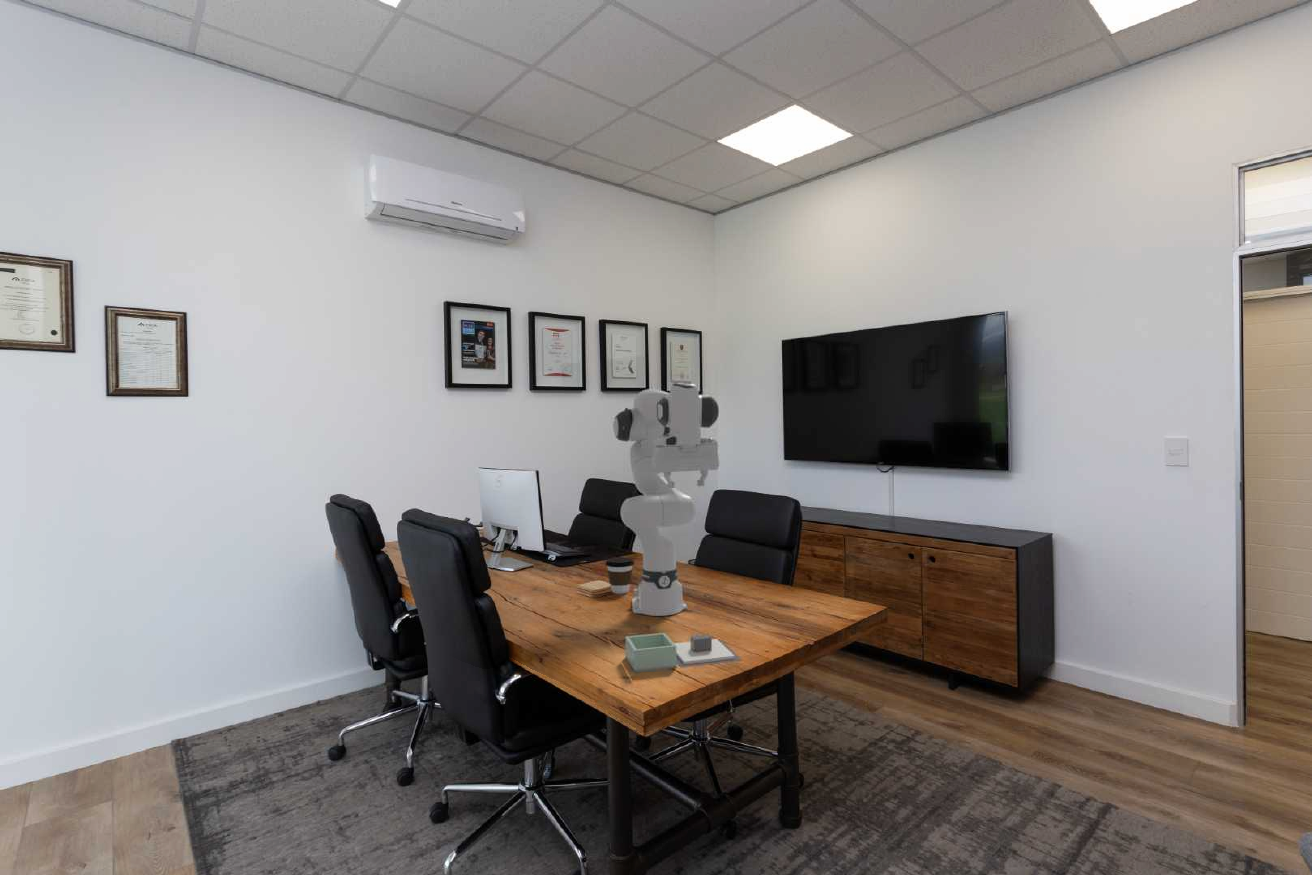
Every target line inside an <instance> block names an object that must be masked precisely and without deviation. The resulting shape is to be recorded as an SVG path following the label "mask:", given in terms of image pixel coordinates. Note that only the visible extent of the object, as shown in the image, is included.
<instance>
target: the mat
mask: <svg viewBox="0 0 1312 875" xmlns="http://www.w3.org/2000/svg"><path fill="white" fill-rule="evenodd" d="M717 640H718V641H719V642H720V643H722V644H723V645H724V646H725V647H726V648H727V649H728V650H729V651H730V652H731V653H732V654H733V655H734V656H735V659H728V660H720V661H711V662H702V663H694V664H685V665H684V664H683V663H682V661H681V660H680V659H679V658H678V656H677V655H676V662H677V666H679V668H686V667H687V668H688V667H696V666H697V667H698V666H705V665H715V664H721V663H730V662H738V661H740V662H741V661H743V659H742V658H741V657H739V655H737V654H736V653H735V652H734V651H733V650H732V649H731V648H729V647H728V645H726V643H724V642H723V641H722V640H721V639H717Z"/></svg>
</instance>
